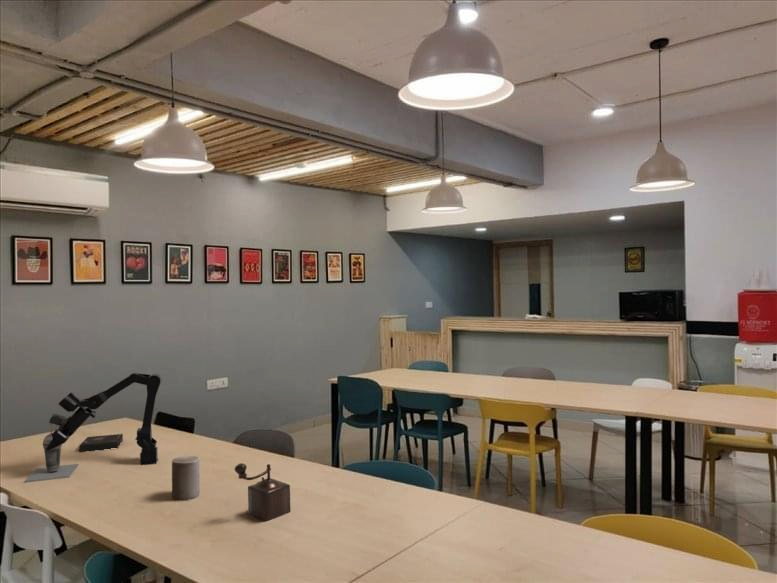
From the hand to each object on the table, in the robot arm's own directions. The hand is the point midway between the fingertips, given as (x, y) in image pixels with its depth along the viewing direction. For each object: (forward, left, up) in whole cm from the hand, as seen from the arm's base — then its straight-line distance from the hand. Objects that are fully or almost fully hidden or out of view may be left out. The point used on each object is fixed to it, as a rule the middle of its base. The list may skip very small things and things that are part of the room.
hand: (49, 447), depth 231 cm
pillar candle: (-60, +47, -11) cm, 77 cm away
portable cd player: (-10, -41, -12) cm, 44 cm away
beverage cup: (-1, 0, -10) cm, 10 cm away
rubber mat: (-1, 0, -11) cm, 11 cm away
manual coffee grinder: (-87, +74, -11) cm, 115 cm away
